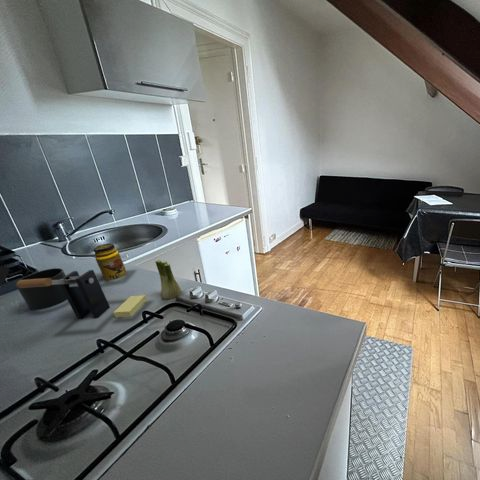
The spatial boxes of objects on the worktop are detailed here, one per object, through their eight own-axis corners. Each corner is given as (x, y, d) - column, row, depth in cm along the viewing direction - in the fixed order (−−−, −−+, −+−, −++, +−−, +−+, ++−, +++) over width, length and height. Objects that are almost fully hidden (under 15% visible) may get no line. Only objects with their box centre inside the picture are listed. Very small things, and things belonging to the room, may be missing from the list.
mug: (78, 287, 83) (65, 261, 79) (74, 304, 74) (60, 276, 71) (37, 298, 78) (21, 272, 74) (28, 319, 69) (10, 290, 65)
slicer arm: (43, 288, 53) (44, 276, 53) (16, 290, 53) (17, 278, 53) (95, 285, 65) (95, 275, 65) (72, 286, 65) (73, 277, 65)
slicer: (96, 332, 62) (74, 287, 57) (58, 335, 62) (32, 290, 57) (128, 302, 73) (112, 262, 68) (96, 304, 73) (77, 264, 68)
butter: (133, 320, 66) (129, 311, 64) (117, 322, 66) (112, 312, 64) (148, 303, 72) (145, 294, 71) (134, 304, 72) (130, 295, 71)
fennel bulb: (183, 301, 72) (171, 262, 68) (163, 307, 70) (150, 268, 65) (181, 291, 77) (170, 255, 72) (163, 297, 75) (149, 260, 70)
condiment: (123, 283, 84) (109, 249, 79) (93, 287, 82) (77, 253, 77) (133, 272, 90) (121, 240, 86) (105, 276, 89) (91, 244, 84)
